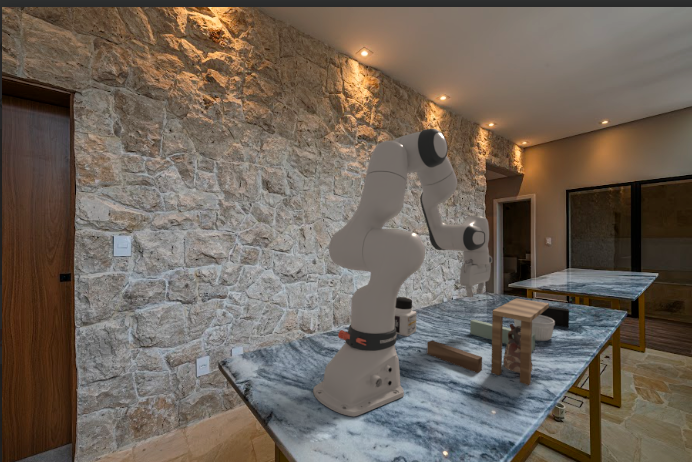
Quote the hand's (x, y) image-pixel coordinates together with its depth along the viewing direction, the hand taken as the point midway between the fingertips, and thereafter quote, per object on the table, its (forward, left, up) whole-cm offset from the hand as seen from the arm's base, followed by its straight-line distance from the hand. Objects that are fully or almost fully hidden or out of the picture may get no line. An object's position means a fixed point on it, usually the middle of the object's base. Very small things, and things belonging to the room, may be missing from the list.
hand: (475, 295), depth 113 cm
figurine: (-19, -20, -15) cm, 31 cm away
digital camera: (+39, -18, -15) cm, 46 cm away
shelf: (-17, -20, -15) cm, 30 cm away
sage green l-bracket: (-5, -9, -15) cm, 18 cm away
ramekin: (+15, -16, -15) cm, 27 cm away
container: (-18, +20, -15) cm, 31 cm away
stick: (-29, -5, -15) cm, 33 cm away
